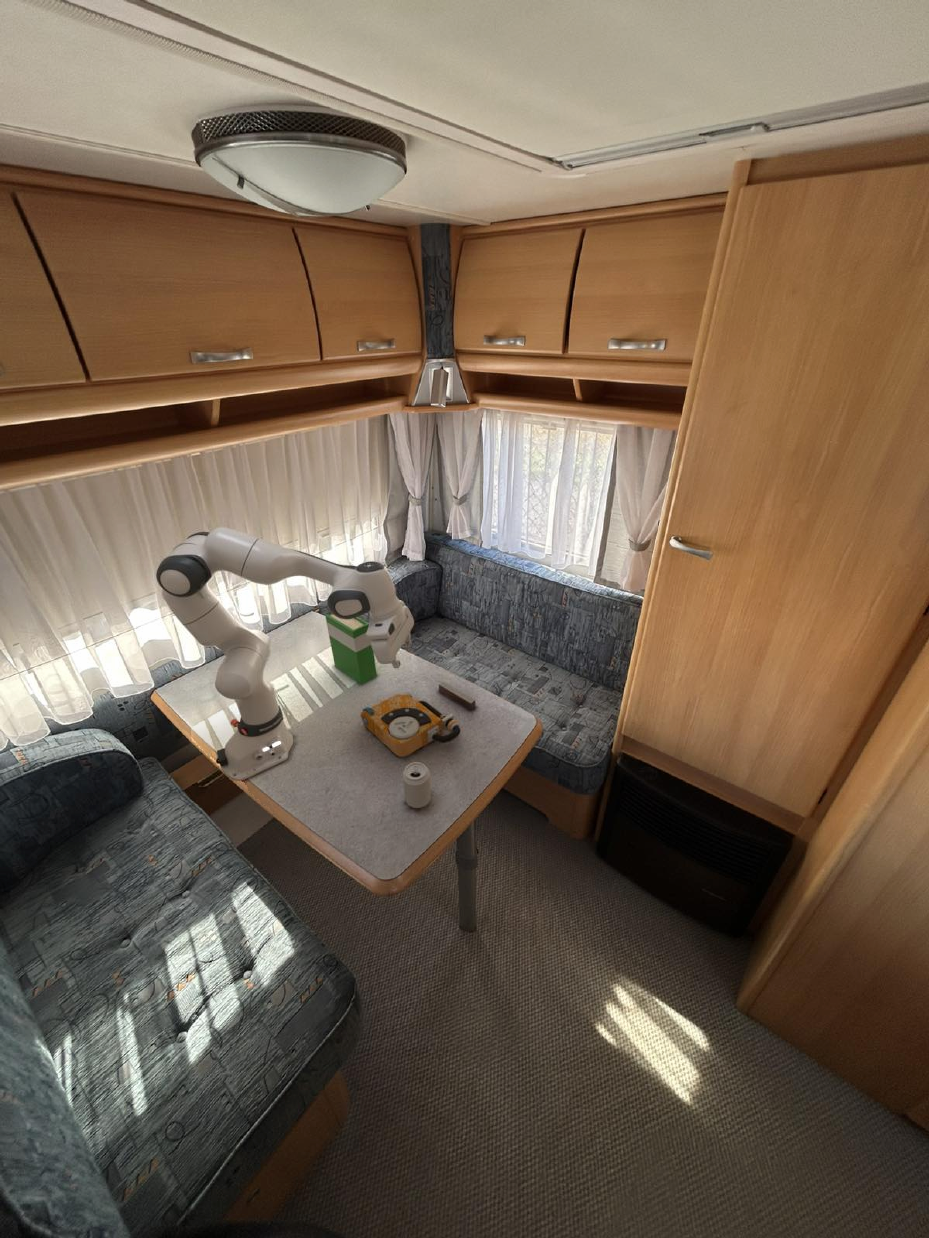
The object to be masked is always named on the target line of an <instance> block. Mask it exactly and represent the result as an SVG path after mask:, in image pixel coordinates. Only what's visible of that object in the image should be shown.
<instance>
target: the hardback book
mask: <svg viewBox="0 0 929 1238" xmlns="http://www.w3.org/2000/svg"><path fill="white" fill-rule="evenodd" d="M324 616H325V622H326V627H327V632H328V637H329V638H328V639H329V642H330V648H331V652H332V658H333V663H334V666H335V668H337V669H338V670H340V671H341V672H343V673H344V674H345V675H347V676H349V677H350V678H351V679H352V680H354V681H356V682H357V683H358V684H360V685H361V686H362V685H363V684H365V683H367V682H369V681H371V680H372V679H374V678H376V677H377V676H378V674H377V667H376V658H375V654H374V652H373V649H372V646H371V639H368V638H367V635H366V633H367V630H368V627H369V622H367V621H366V620H364V619H362V618H361V617H360V616H358V617H356V618H353V619H341V618H338V617H336V616H335V615H333V614H332V613H331V614H328V613H326V614H325V615H324Z"/></svg>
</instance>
